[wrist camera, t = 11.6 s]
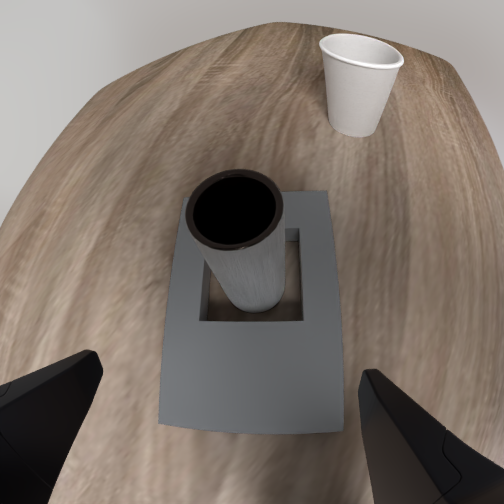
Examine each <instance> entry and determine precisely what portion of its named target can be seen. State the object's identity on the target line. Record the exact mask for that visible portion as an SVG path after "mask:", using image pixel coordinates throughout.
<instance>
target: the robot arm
mask: <svg viewBox="0 0 504 504" xmlns="http://www.w3.org/2000/svg"><path fill="white" fill-rule="evenodd" d="M102 376H103V367H102V365H101V362H100V360H99V357H98V354H97V353H96V352H95V351H92V350H83V351H81V352H79V353H77V354H74V355H72V356H70V357H67V358H65V359H63V360H60V361H58V362H56V363H53V364H51V365H49V366H46V367H44V368H42V369H39V370H37V371H35V372H32V373H30V374H28V375H25V376H23V377H20V378H18V379H16V380H13V381H12V382H8V383H6V384H3V385H1V386H0V504H48V502H49V499H50V496H51V494H52V491H53V488H54V486H55V483H56V481H57V479H58V476H59V474H60V471H61V469H62V467H63V464H64V462H65V460H66V458H67V455H68V453H69V451H70V449H71V446H72V444H73V442H74V440H75V438H76V436H77V434H78V431H79V429H80V427H81V425H82V423H83V421H84V419H85V417H86V415H87V413H88V411H89V409H90V407H91V404H92V402H93V399H94V396H95V394H96V391H97V388H98V386H99V383H100V381H101V378H102ZM358 398H359V408H360V419H361V431H362V438H363V444H364V448H365V453H366V459H367V464H368V469H369V475H370V480H371V486H372V492H373V498H374V504H504V469H503V468H502V467H500V466H499V465H497V464H495V463H494V462H492V461H491V460H489V459H487V458H486V457H484V456H483V455H481V454H480V453H478V452H477V451H475V450H474V449H472V448H471V447H469V446H468V445H467V444H465V443H464V442H463V441H461V440H460V439H459V438H458V437H456V436H455V435H454V434H453V433H452V432H450V431H449V430H446V427H444V426H443V425H442V424H441V423H440V422H438V421H437V420H436V419H435V418H434V417H433V416H431V415H430V414H429V413H428V412H427V411H426V410H424V409H423V408H422V407H421V406H420V405H419V404H417V403H416V402H415V401H414V400H413V399H411V398H410V397H409V396H408V395H407V394H406V393H404V392H403V391H402V390H401V389H400V388H399V387H397V386H396V385H395V384H394V383H393V382H392V381H390V380H389V379H388V378H387V377H386V376H385V375H383V374H382V373H381V372H380V371H379V370H377V369H366V370H364V371H363V373H362V377H361V381H360V385H359V389H358Z"/></svg>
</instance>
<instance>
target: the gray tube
mask: <svg viewBox="0 0 504 504" xmlns="http://www.w3.org/2000/svg"><path fill="white" fill-rule="evenodd" d="M185 221H186V225H187V228H188V230H189V232H190V234H191V236H192V238H193V240H194V241H195V243H196V245H197V246H198V248H199V250H200V252H201V253H202V255H203V257H204V258H205V260H206V262H207V263H208V265H209V267H210V269H211V270H212V272H213V274H214V275H215V277H216V279H217V280H218V282H219V284H220V285H221V287H222V289H223V290H224V292H225V293H226V295H227V297H228V298H229V300H230V301H231V302H232V303H233V304H234V305H235V306H236V307H237V308H239V309H240V310H242V311H245V312H249V313H260V312H264V311H267V310H269V309H271V308H272V307H274V306H275V305H276V304H277V303H278V302H279V300H280V299H281V297H282V295H283V293H284V289H285V217H284V200H283V196H282V193H281V191H280V189H279V188H278V186H277V185H276V184H275V183H274V182H273V181H272V180H271V179H270V178H268V177H267V176H265V175H263V174H261V173H259V172H256V171H252V170H246V169H233V170H227V171H223V172H220V173H217V174H215V175H213V176H211V177H209V178H207V179H206V180H205V181H203V182H202V183H201V184H200V185H199V186H198V187H197V188H196V189H195V190H194V191H193V193H192V194H191V196H190V198H189V200H188V202H187V205H186V209H185Z"/></svg>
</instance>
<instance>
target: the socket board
mask: <svg viewBox="0 0 504 504" xmlns="http://www.w3.org/2000/svg"><path fill="white" fill-rule="evenodd" d="M281 193H282V196H283V200H284V217H285V241H299V258H300V278H301V305H302V321H276V322H221V321H207V313H208V300H209V287H210V275H211V269H210V267H209V265H208V263H207V262H206V260H205V258H204V257H203V255H202V253H201V252H200V250H199V248H198V246H197V245H196V243H195V241H194V240H193V238H192V236H191V234H190V232H189V230H188V228H187V225H186V221H185V209H186V205H187V202H188V200H189V198H190V197H186V198H184V199H183V205H182V210H181V215H180V221H179V227H178V233H177V239H176V245H175V251H174V258H173V264H172V271H171V278H170V286H169V294H168V302H167V310H166V319H165V329H164V339H163V351H162V363H161V377H160V395H159V419H158V424H164V425H170V426H176V427H183V428H190V429H198V430H206V431H216V432H228V433H245V434H310V433H326V432H338V431H343V427H344V371H343V343H342V324H341V309H340V296H339V284H338V274H337V264H336V255H335V246H334V238H333V230H332V222H331V215H330V208H329V202H328V195H327V191H289V192H281Z"/></svg>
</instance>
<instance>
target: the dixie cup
mask: <svg viewBox="0 0 504 504" xmlns="http://www.w3.org/2000/svg"><path fill="white" fill-rule="evenodd" d="M319 45H320V48H321V49H322V53H323V62H324V71H325V81H326V92H327V104H328V118H329V123H330V125H331V126H332V127H333V128H334V129H335V130H337V131H338V132H340V133H342V134H344V135H347V136H351V137H367V136H369V135H371V134H373V133H374V131H375V129H376V127H377V125H378V122H379V120H380V117H381V115H382V112H383V110H384V107H385V105H386V102H387V100H388V97H389V94H390V92H391V89H392V86H393V84H394V81H395V78H396V76H397V73H398V70H399V68H400V66H402V65H403V63H404V59H403V57H402V55H401V54H400V53H399V52H398V51H397V50H396V49H395V48H393V47H392V46H390V45H388V44H386V43H384V42H382V41H379V40H377V39H373V38H370V37H366V36H361V35H355V34H333V35H329V36H326V37H324V38H323V39H322V40H321V41H320V43H319Z"/></svg>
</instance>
